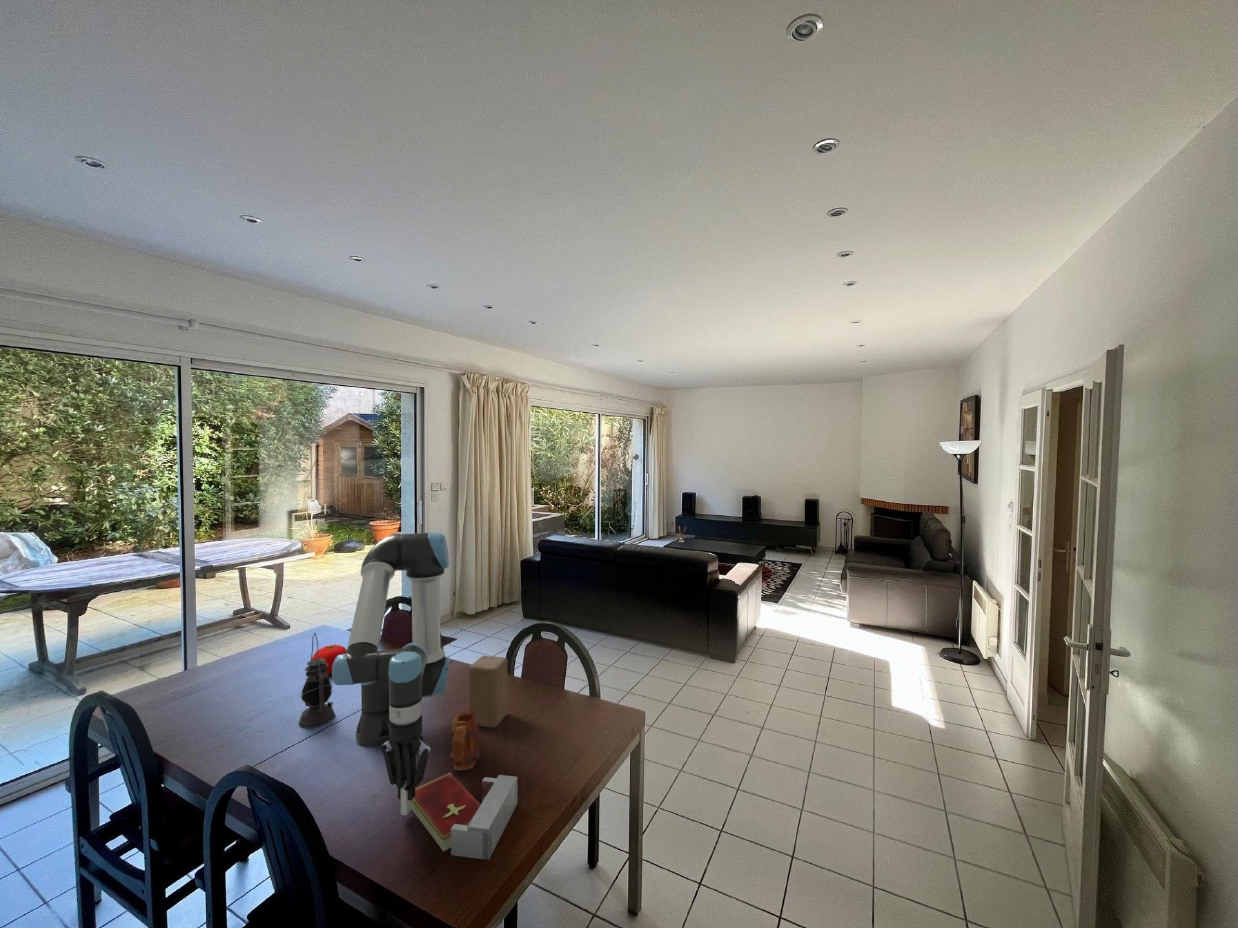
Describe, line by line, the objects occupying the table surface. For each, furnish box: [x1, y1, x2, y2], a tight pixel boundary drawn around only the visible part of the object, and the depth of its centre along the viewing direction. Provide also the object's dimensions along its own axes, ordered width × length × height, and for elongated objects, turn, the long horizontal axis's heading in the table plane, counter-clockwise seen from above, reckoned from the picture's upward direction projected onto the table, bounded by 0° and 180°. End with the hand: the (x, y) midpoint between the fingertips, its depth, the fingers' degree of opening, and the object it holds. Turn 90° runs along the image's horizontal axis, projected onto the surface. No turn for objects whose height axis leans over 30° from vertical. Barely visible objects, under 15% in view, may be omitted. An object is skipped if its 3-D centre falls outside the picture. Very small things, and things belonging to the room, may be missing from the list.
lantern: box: [298, 632, 336, 729], centre depth 168 cm, size 12×11×30 cm
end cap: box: [450, 774, 519, 861], centre depth 120 cm, size 9×18×7 cm, turn 171°
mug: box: [448, 711, 482, 771], centre depth 141 cm, size 15×8×15 cm, turn 5°
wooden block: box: [468, 655, 509, 728], centre depth 168 cm, size 10×10×20 cm
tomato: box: [312, 643, 347, 675], centre depth 205 cm, size 14×13×10 cm
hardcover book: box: [411, 772, 482, 852], centre depth 124 cm, size 12×21×4 cm, turn 44°
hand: (406, 810), depth 123 cm, fingers closed
